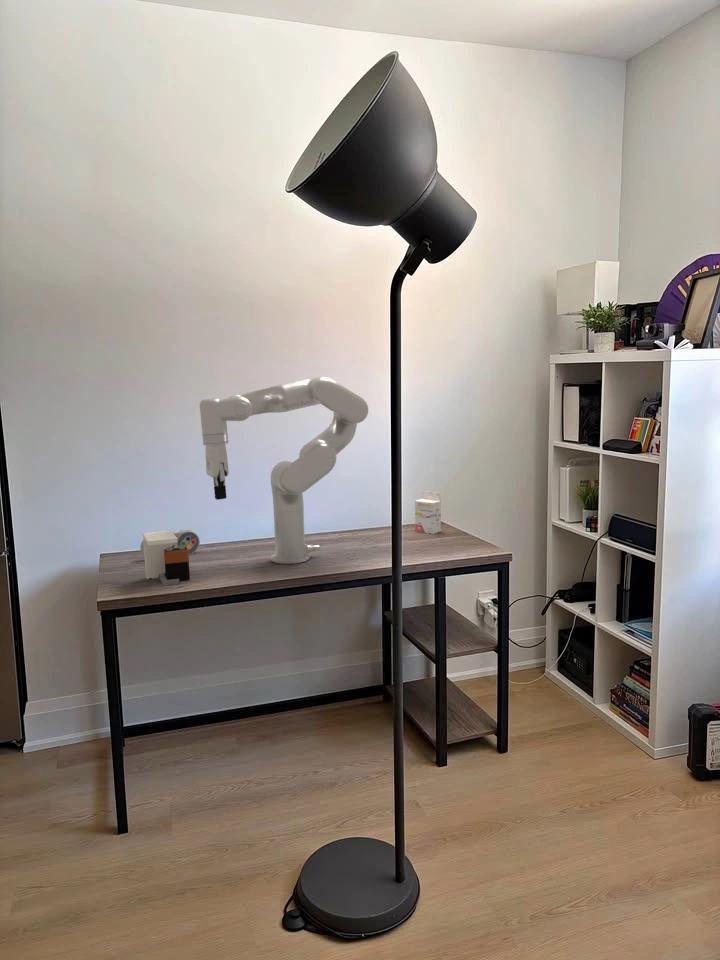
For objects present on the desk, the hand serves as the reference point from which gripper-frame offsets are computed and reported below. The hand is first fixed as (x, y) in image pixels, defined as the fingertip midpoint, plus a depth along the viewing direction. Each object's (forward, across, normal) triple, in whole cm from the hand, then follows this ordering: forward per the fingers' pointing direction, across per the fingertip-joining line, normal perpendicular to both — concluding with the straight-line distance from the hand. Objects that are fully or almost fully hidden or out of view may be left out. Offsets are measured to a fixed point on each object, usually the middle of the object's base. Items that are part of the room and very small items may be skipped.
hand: (220, 498), depth 226 cm
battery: (+21, +7, -17) cm, 28 cm away
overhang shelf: (+21, +7, -21) cm, 30 cm away
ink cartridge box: (+24, -10, +78) cm, 82 cm away
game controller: (+21, -22, -13) cm, 34 cm away
